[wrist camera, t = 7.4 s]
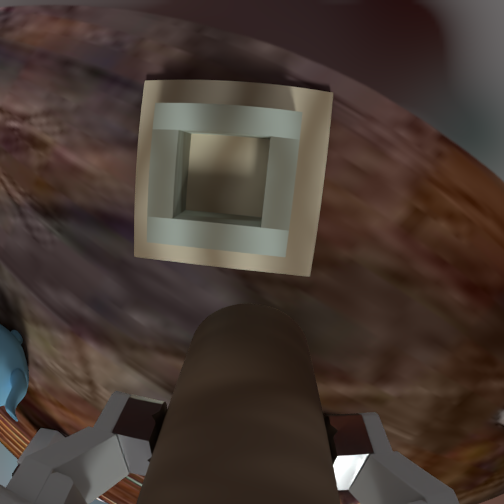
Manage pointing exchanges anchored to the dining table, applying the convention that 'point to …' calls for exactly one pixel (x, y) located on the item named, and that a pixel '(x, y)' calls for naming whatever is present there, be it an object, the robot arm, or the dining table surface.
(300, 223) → the socket board
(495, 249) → the dining table surface
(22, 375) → the teapot
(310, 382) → the peg
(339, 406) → the dining table surface
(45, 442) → the jar
